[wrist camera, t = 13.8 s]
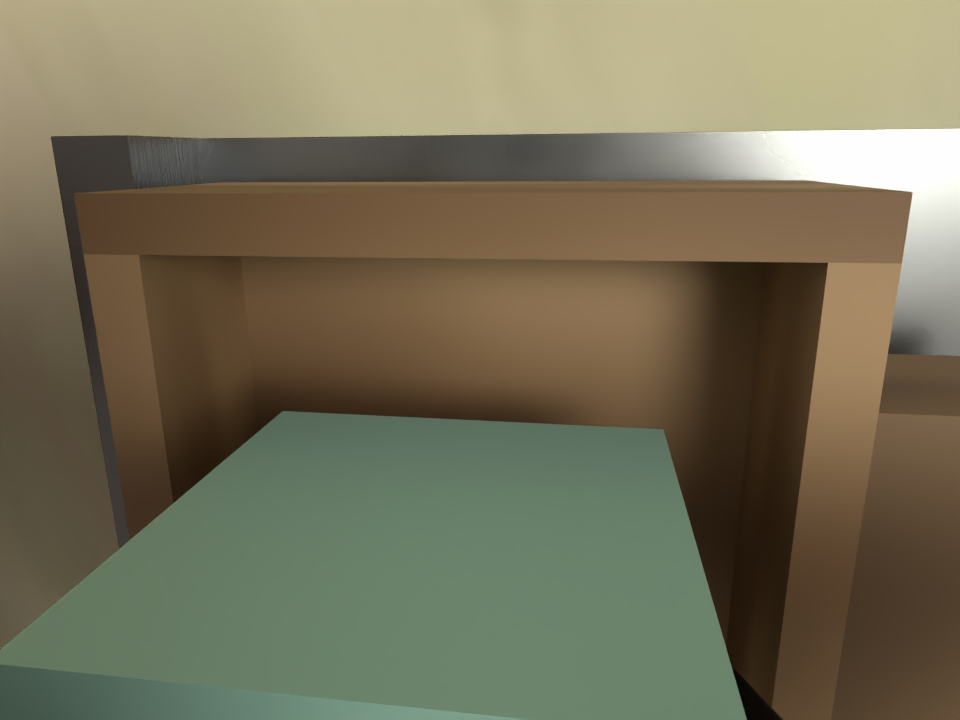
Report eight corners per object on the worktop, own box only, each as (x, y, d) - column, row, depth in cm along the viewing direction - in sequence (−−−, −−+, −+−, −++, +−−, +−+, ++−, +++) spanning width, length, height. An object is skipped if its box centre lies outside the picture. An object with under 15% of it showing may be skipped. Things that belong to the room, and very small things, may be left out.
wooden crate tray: (906, 715, 13) (1043, 954, 9) (285, 658, 15) (178, 839, 11) (1009, 178, 10) (1262, 191, 7) (238, 181, 12) (73, 193, 8)
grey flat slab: (1223, 741, 13) (1383, 888, 11) (220, 650, 16) (147, 748, 13) (1435, 124, 10) (1734, 113, 8) (154, 140, 13) (44, 136, 10)
